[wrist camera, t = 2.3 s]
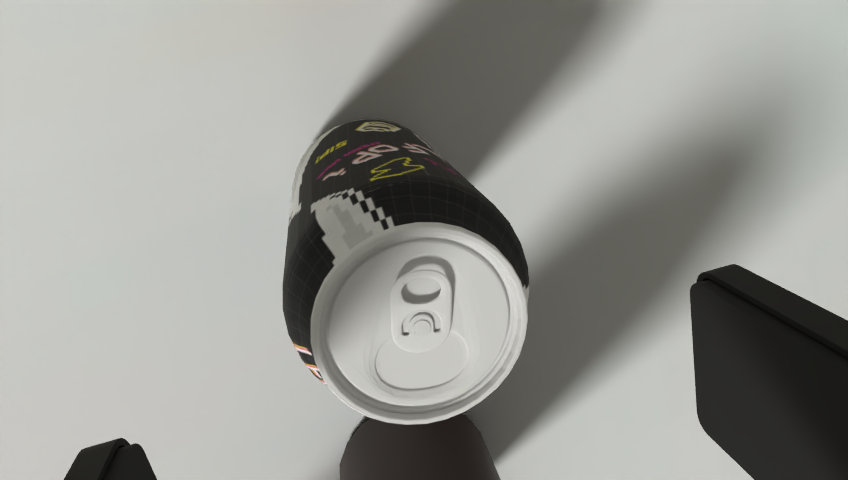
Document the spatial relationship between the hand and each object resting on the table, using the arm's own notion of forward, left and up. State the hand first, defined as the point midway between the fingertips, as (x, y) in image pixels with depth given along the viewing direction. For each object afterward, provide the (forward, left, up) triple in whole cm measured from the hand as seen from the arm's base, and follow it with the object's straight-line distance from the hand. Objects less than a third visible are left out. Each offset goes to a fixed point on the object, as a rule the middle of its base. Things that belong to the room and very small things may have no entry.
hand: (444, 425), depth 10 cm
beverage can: (0, 0, -15) cm, 15 cm away
